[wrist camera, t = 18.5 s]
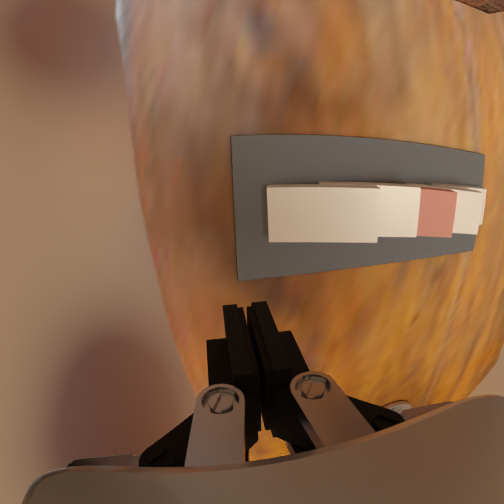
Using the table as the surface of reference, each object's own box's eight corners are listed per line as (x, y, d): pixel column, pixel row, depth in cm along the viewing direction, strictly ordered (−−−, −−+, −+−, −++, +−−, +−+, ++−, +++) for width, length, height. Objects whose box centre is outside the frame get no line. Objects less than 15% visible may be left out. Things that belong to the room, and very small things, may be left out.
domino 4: (401, 226, 31) (471, 230, 29) (405, 230, 30) (477, 234, 28) (405, 182, 29) (476, 190, 28) (409, 184, 28) (483, 193, 26)
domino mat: (470, 249, 36) (472, 250, 35) (237, 278, 31) (238, 281, 30) (481, 154, 31) (484, 154, 30) (230, 135, 26) (231, 135, 25)
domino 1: (270, 236, 29) (373, 237, 27) (268, 242, 28) (377, 242, 26) (268, 184, 27) (376, 185, 26) (266, 187, 26) (380, 188, 24)
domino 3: (365, 228, 31) (445, 233, 29) (367, 233, 29) (451, 237, 27) (367, 182, 29) (451, 189, 27) (371, 184, 27) (457, 192, 26)
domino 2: (318, 231, 30) (411, 232, 28) (319, 236, 28) (416, 237, 27) (318, 181, 28) (415, 184, 26) (319, 184, 26) (420, 187, 25)
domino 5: (427, 223, 32) (474, 221, 33) (435, 227, 30) (481, 224, 32) (431, 183, 30) (478, 186, 31) (440, 185, 29) (486, 188, 30)
